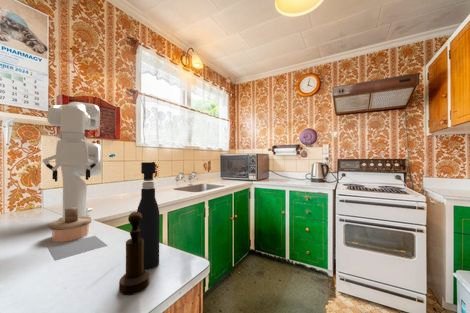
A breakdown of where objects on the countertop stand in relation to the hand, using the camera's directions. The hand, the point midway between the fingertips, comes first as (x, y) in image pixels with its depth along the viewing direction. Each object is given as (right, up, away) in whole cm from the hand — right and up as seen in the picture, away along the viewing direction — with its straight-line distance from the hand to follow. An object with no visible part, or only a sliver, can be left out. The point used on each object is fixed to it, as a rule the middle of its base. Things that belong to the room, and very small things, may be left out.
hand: (72, 180), depth 81 cm
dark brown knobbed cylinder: (+41, -22, -32) cm, 56 cm away
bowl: (0, -23, -1) cm, 23 cm away
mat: (+10, -22, -10) cm, 27 cm away
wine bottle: (+40, -22, -22) cm, 51 cm away
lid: (0, -18, -1) cm, 18 cm away
